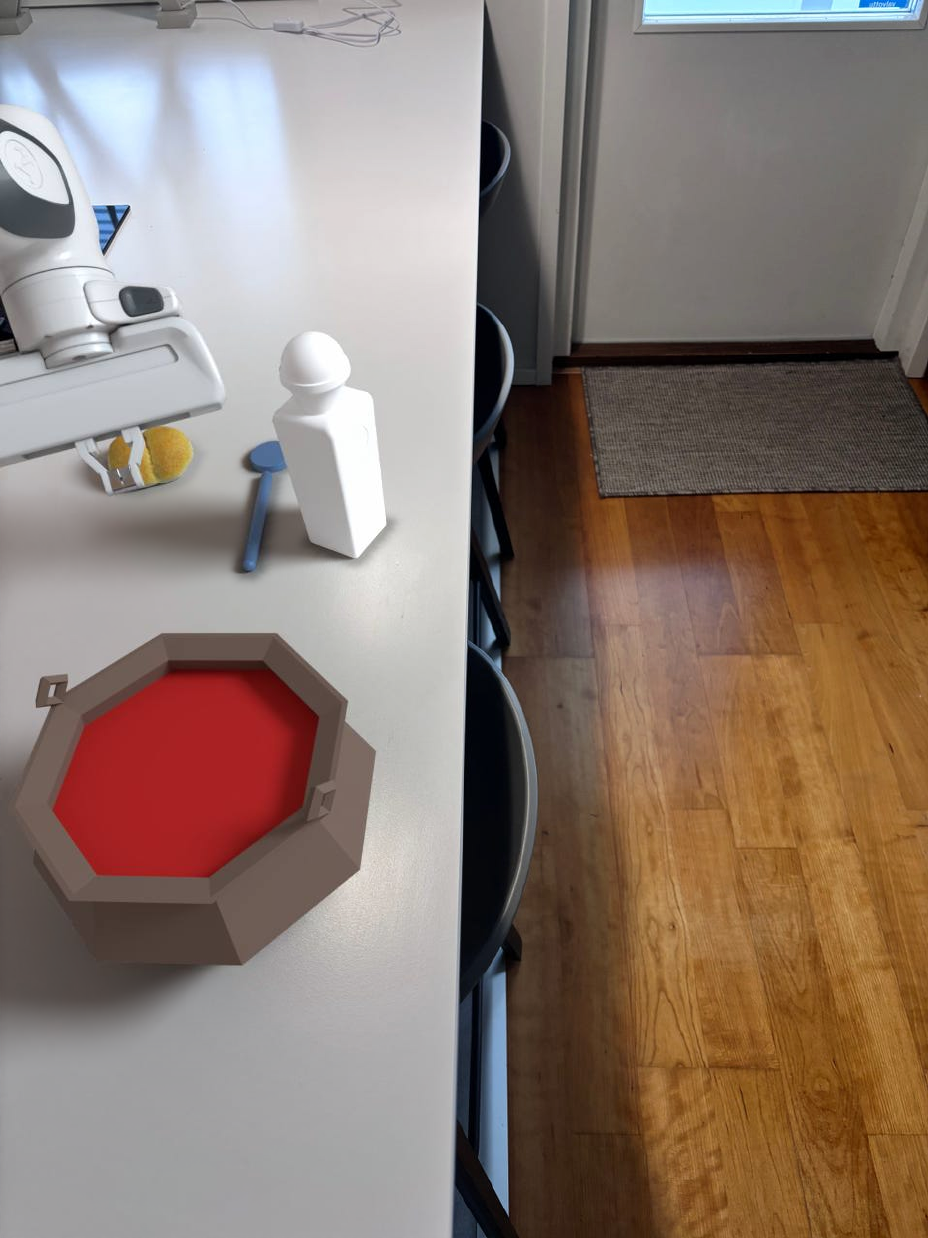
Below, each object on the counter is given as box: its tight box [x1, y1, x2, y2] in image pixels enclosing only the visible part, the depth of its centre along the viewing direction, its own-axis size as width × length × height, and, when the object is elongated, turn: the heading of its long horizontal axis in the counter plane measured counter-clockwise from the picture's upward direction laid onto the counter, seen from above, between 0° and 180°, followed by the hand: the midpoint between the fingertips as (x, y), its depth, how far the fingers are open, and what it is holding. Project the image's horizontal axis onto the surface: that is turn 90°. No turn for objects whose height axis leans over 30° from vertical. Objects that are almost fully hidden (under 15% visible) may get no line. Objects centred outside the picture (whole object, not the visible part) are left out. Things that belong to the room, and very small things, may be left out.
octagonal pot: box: [7, 632, 377, 967], centre depth 65 cm, size 24×24×16 cm
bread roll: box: [106, 425, 195, 489], centre depth 101 cm, size 8×9×4 cm
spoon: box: [242, 440, 287, 572], centre depth 97 cm, size 19×4×1 cm, turn 1°
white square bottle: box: [272, 330, 387, 559], centre depth 85 cm, size 6×6×22 cm
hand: (126, 491), depth 77 cm, fingers closed
